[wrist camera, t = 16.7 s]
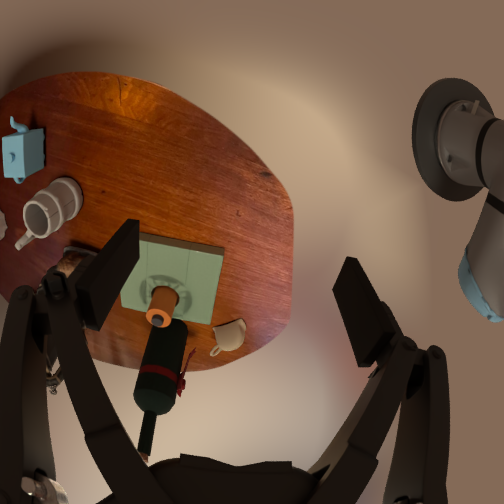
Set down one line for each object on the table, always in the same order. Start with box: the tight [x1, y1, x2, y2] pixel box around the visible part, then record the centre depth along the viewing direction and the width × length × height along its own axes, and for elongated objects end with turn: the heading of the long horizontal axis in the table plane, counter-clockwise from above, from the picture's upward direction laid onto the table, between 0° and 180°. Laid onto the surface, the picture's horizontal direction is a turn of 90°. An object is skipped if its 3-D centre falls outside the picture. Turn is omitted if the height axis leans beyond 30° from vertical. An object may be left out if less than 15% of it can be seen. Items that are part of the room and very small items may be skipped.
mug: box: [15, 178, 83, 250], centre depth 34 cm, size 8×12×12 cm, turn 125°
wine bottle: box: [133, 318, 196, 462], centre depth 42 cm, size 8×10×30 cm
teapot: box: [2, 116, 45, 183], centre depth 30 cm, size 12×6×8 cm, turn 170°
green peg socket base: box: [120, 232, 225, 325], centre depth 47 cm, size 18×16×2 cm
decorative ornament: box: [210, 319, 246, 356], centre depth 53 cm, size 4×8×5 cm, turn 113°
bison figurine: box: [46, 246, 98, 278], centre depth 41 cm, size 12×7×10 cm, turn 71°
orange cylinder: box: [146, 285, 178, 327], centre depth 46 cm, size 4×4×9 cm
